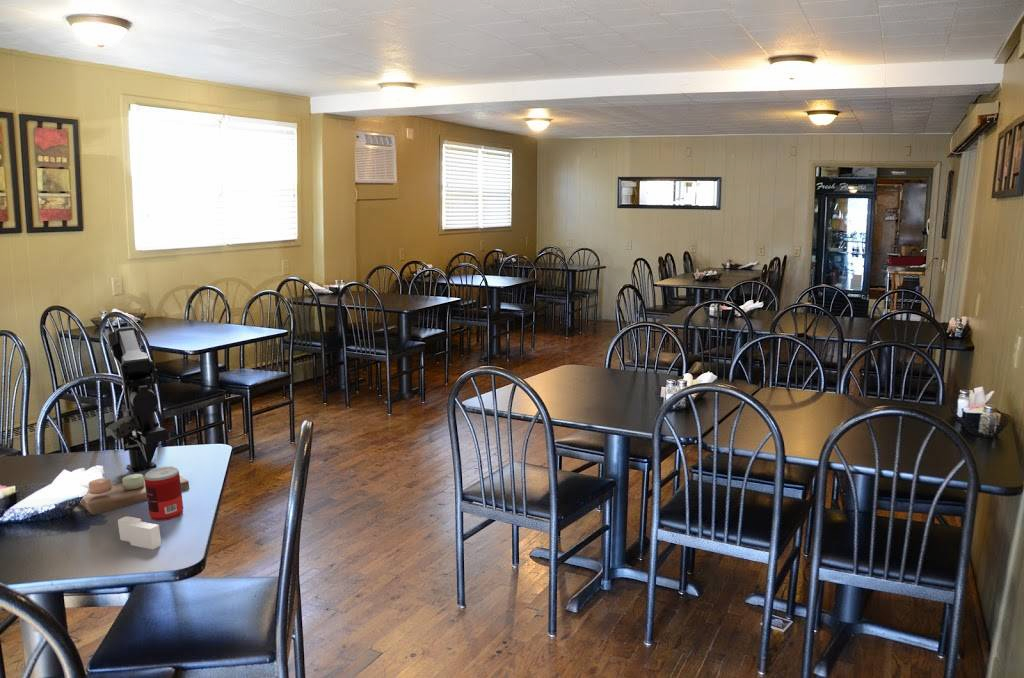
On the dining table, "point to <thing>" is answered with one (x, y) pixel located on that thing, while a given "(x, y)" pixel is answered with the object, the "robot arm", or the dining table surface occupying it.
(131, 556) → the dining table surface
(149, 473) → the canned food
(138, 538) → the white stepped block
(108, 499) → the panel
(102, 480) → the button terracotta
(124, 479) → the button sage
